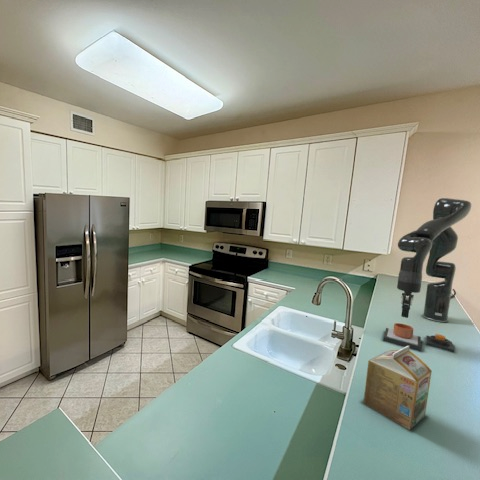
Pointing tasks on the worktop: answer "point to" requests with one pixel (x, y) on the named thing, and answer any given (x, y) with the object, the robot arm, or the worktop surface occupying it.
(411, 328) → the copper cup
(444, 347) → the block
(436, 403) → the worktop surface
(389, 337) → the scale
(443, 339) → the tare button
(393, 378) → the milk carton
